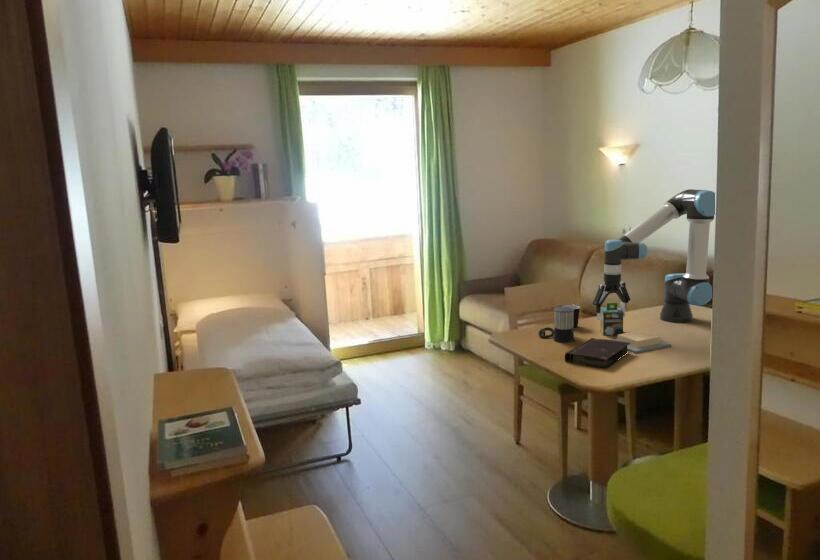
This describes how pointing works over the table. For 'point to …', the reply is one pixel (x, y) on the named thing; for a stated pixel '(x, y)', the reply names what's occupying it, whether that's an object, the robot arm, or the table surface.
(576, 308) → the coffee mug
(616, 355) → the diary
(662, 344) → the board
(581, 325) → the table surface
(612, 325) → the chalk box
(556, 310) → the milk frother
